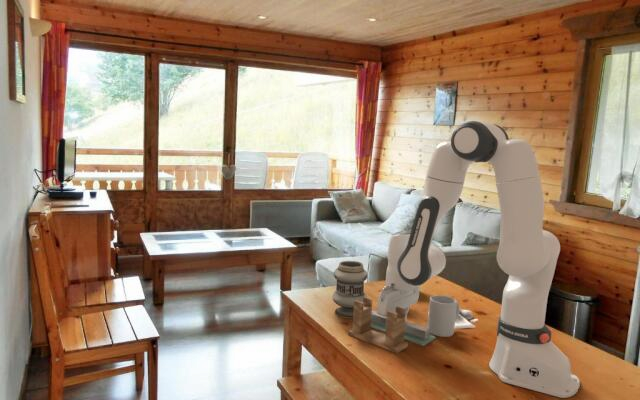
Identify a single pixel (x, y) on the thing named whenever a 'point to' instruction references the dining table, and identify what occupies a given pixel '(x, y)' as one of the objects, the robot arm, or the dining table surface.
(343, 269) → the apothecary jar
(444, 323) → the mug
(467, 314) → the cloth
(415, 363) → the dining table surface
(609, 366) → the dining table surface
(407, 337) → the mat
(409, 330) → the rail
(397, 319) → the rack
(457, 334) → the dining table surface
